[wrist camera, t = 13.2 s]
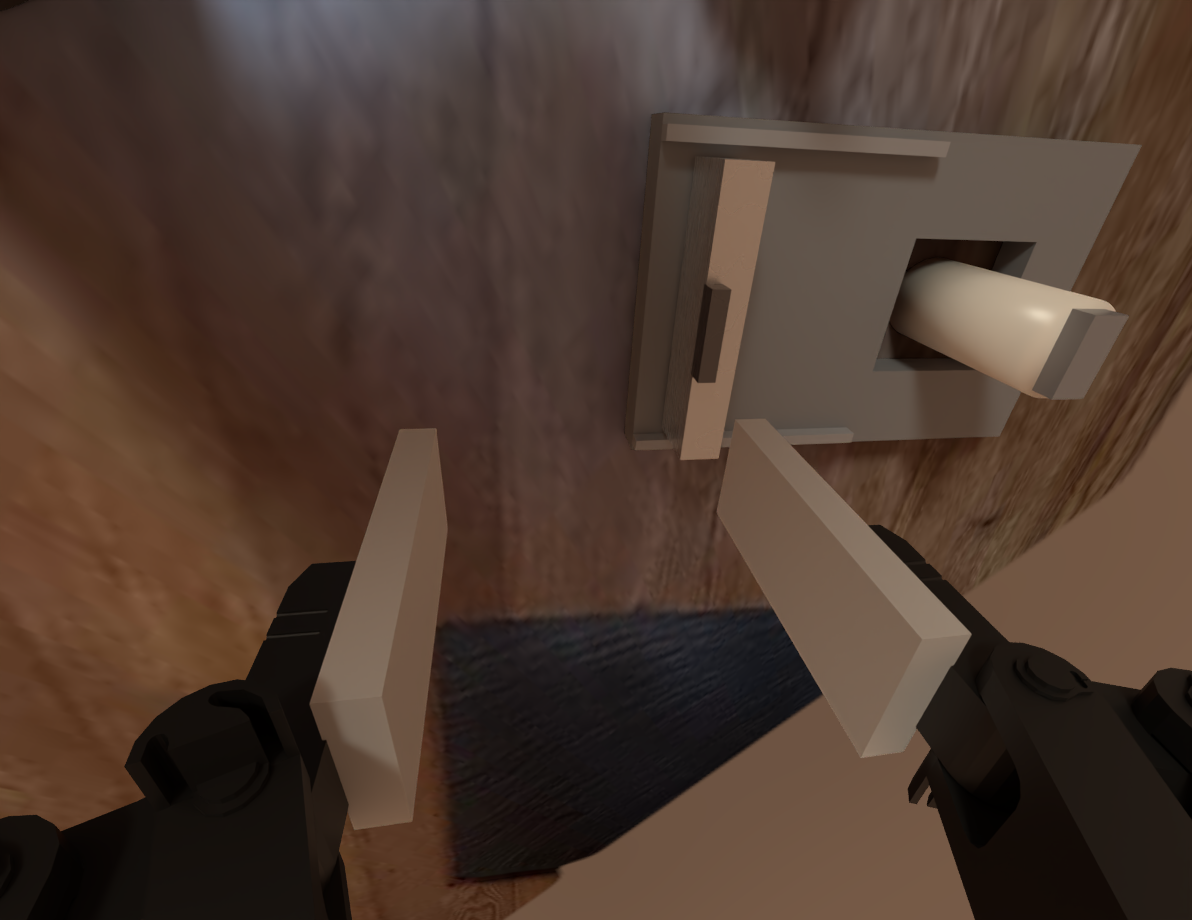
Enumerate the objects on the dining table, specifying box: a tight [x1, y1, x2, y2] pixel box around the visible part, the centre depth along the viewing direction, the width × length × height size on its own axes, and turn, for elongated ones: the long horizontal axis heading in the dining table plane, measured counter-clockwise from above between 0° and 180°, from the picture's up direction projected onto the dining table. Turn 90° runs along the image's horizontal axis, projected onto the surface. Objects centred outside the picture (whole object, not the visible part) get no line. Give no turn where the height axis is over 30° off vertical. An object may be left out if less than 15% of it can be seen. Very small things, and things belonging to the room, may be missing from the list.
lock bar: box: [662, 156, 775, 460], centre depth 24 cm, size 2×13×4 cm, turn 177°
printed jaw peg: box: [889, 257, 1129, 399], centre depth 26 cm, size 4×4×10 cm
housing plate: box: [624, 113, 1142, 451], centre depth 29 cm, size 24×16×3 cm, turn 87°
